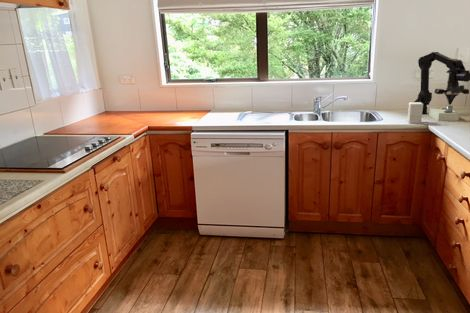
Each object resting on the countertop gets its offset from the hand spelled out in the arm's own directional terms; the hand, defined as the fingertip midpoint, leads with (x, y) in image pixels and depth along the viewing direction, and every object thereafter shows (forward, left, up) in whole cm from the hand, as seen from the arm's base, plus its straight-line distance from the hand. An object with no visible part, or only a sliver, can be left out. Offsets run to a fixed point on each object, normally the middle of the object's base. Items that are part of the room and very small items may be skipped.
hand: (449, 104), depth 238 cm
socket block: (-1, +6, -10) cm, 12 cm away
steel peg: (0, 0, -6) cm, 6 cm away
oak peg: (0, +12, -10) cm, 15 cm away
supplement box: (-23, -9, -10) cm, 27 cm away
